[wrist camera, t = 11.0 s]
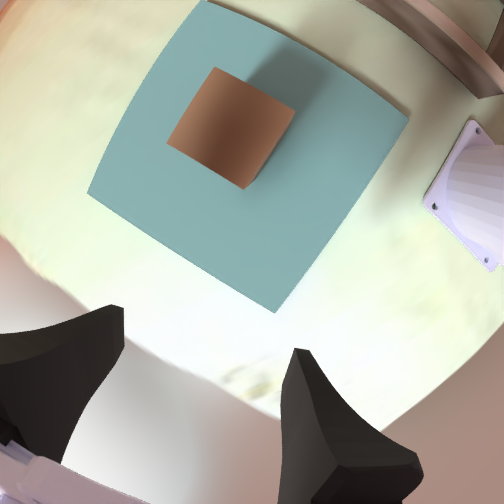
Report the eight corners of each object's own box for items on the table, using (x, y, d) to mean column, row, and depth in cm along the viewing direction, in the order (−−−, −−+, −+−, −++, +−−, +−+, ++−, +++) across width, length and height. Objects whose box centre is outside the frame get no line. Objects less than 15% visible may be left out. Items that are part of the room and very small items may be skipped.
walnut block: (289, 126, 17) (295, 111, 12) (254, 180, 18) (243, 190, 13) (233, 93, 17) (214, 66, 11) (199, 147, 18) (166, 143, 12)
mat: (406, 120, 17) (409, 119, 16) (274, 310, 21) (274, 313, 21) (203, 2, 15) (201, -1, 15) (90, 192, 20) (86, 193, 19)
